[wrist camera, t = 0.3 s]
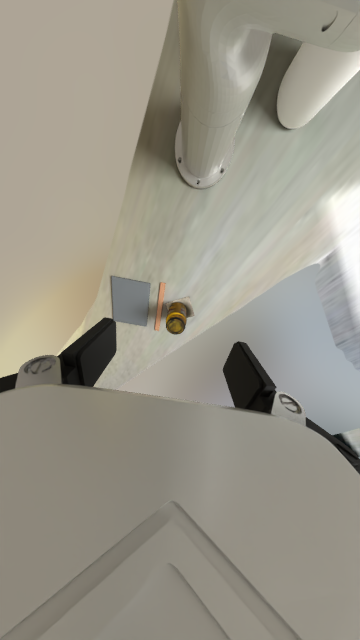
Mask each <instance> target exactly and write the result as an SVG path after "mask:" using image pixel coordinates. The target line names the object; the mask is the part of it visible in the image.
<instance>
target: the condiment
mask: <svg viewBox="0 0 360 640" xmlns="http://www.w3.org/2000/svg"><path fill="white" fill-rule="evenodd" d="M165 305H166V307H167V310H168V314H167V318H166V328H167V330H168V331H169V332H170V333H172V334H180V333H182V332H183V331H184V329H185V325H186V318H188V317H192V316H194V312H193V309H192V305H191V302H190V298H189V297H186V298H182V299H179V300H175V301H172V302H168V303H165Z"/></svg>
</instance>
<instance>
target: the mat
mask: <svg viewBox="0 0 360 640" xmlns="http://www.w3.org/2000/svg"><path fill="white" fill-rule="evenodd" d="M149 294H150V283H146V282H141V281H136V280H131V279H125V278H120V277H115V276H112V297H113V320H114V321H118V322H123V323H129V324H135V325H140V326H147V317H148V305H149Z"/></svg>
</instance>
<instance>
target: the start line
mask: <svg viewBox="0 0 360 640" xmlns="http://www.w3.org/2000/svg"><path fill="white" fill-rule="evenodd" d="M165 284H166V283H162V282H161V284H160V292H159V300H158V309H157V317H156V325H155V330H157V331H159V326H160V319H161V312H162V305H163V298H164V291H165Z"/></svg>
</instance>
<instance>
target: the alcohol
mask: <svg viewBox="0 0 360 640" xmlns="http://www.w3.org/2000/svg"><path fill="white" fill-rule="evenodd" d="M359 70H360V50H359V51H355V52H340V51H334V50H331V49H327V48H322V47H319V46H316V45H312V44H309V43H306V42H303V43H302V45H301V47H300V49H299V50H298V52H297V54H296V56H295V57H294V59H293V61H292V63H291V64H290V66H289V68H288V70H287V71H286V73H285V75H284V77H283V79H282V82H281V85H280V88H279V92H278V98H277V114H278V118H279V121H280V122H281V124H282V125H283V126H284V127H286V128H289V129H297V128H299V127H302V126H303V125H305V124H306V123H308V122H309V121H310V120H311V119H312V118H313V117H314V116H315V115H316V114H317V113H318V112H319V111H320V110H321V109H322V108H323V107H324V106H325V105H326V103H327V102H328V101H329V100H330V99H331V98H332V97H333V96H334V95H335V94H336V93H337V92H338V91H339V90H340V89H341V88H342V87H343V86H344V85H345V84H346V83H347V82H348V81H349V80H350V79H351V78H352V77H353V76H354V75H355V74H356V73H357V72H358V71H359Z"/></svg>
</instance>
